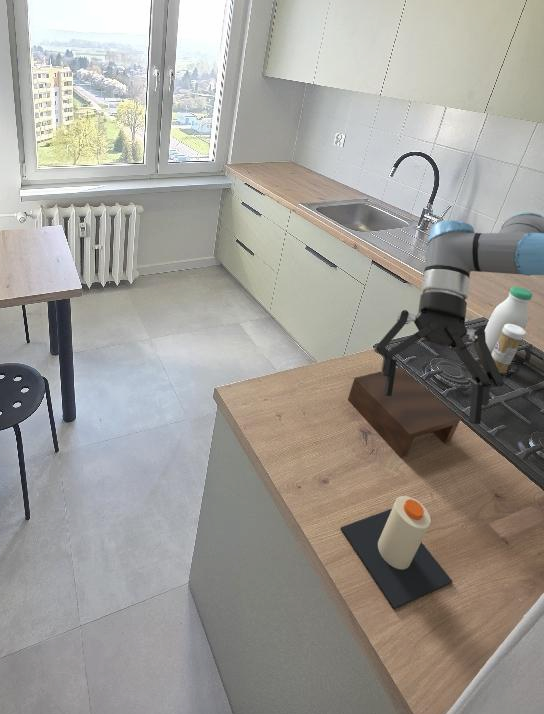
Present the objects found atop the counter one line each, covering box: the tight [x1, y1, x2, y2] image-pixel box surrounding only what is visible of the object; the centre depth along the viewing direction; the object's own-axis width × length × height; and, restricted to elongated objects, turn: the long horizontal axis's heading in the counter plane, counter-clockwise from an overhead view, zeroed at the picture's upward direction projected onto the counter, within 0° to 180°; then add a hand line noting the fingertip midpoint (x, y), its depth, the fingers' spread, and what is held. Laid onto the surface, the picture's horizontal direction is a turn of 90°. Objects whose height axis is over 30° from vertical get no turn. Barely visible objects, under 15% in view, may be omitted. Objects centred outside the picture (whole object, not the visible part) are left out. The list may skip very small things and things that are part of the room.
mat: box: [340, 508, 453, 610], centre depth 71 cm, size 12×12×1 cm
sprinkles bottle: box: [491, 324, 527, 374], centre depth 111 cm, size 5×5×14 cm
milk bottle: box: [484, 286, 533, 353], centre depth 117 cm, size 8×8×20 cm
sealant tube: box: [378, 495, 432, 569], centre depth 68 cm, size 5×5×12 cm
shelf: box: [347, 366, 461, 458], centre depth 95 cm, size 16×14×7 cm
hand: (429, 409), depth 75 cm, fingers open, 13 cm apart
